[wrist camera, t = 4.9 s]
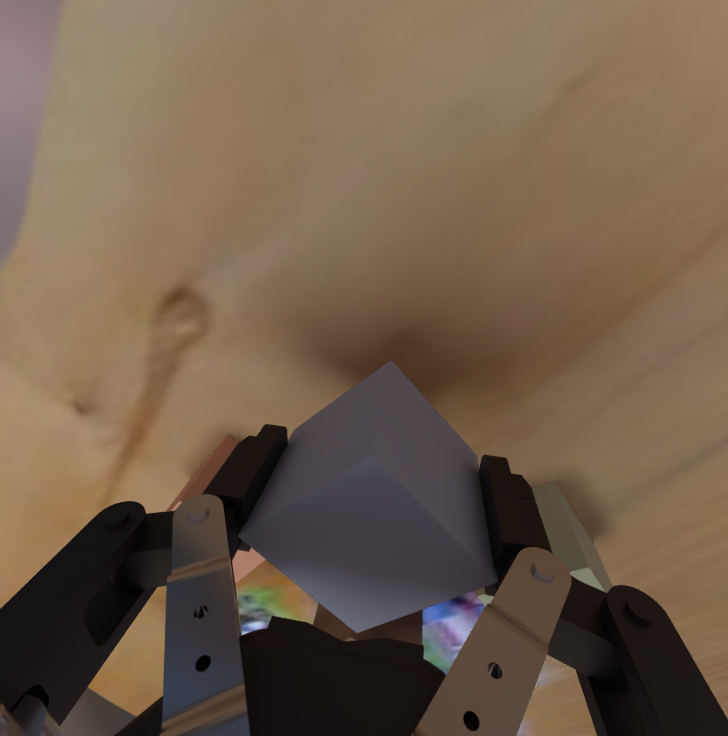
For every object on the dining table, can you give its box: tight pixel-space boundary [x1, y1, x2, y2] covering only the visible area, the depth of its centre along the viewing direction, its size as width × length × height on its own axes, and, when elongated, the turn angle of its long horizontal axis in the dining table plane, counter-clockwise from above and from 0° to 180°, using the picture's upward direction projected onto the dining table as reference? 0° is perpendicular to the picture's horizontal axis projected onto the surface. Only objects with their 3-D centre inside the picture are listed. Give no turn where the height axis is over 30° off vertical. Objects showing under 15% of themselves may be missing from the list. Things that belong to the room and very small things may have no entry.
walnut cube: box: [313, 603, 423, 645], centre depth 24 cm, size 5×5×5 cm
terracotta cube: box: [166, 435, 266, 583], centre depth 21 cm, size 5×5×5 cm
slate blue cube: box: [238, 360, 498, 633], centre depth 12 cm, size 5×5×5 cm
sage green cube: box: [476, 481, 613, 607], centre depth 19 cm, size 5×5×5 cm
